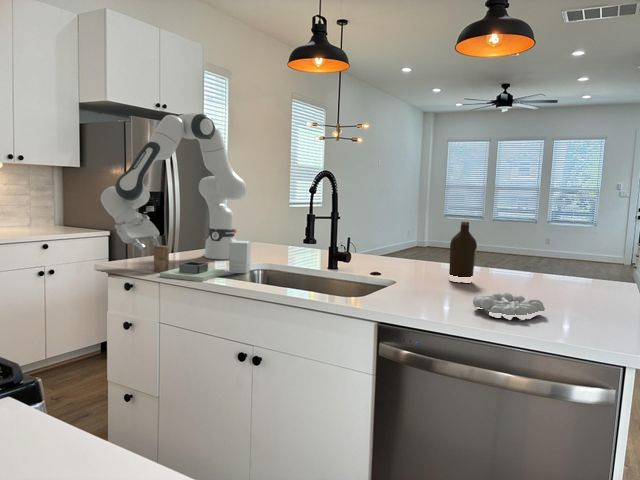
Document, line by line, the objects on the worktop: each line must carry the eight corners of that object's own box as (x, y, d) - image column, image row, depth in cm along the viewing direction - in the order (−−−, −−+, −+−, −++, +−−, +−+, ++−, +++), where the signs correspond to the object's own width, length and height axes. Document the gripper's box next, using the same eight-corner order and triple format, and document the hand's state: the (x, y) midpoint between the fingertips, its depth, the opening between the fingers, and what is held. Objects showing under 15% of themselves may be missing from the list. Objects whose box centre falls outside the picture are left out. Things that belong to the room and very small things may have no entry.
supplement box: (250, 271, 208) (251, 241, 206) (246, 274, 200) (247, 243, 199) (233, 269, 208) (234, 240, 207) (228, 272, 201) (229, 241, 199)
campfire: (475, 302, 169) (477, 285, 169) (542, 311, 161) (544, 293, 161) (468, 318, 149) (470, 299, 148) (544, 329, 141) (546, 309, 140)
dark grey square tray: (189, 268, 197) (189, 261, 197) (208, 270, 195) (209, 263, 194) (177, 272, 189) (178, 264, 189) (197, 274, 187) (198, 266, 186)
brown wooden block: (159, 270, 199) (160, 245, 198) (168, 271, 198) (168, 246, 197) (153, 271, 196) (154, 246, 194) (162, 272, 195) (163, 247, 193)
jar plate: (185, 269, 203) (185, 265, 203) (225, 273, 198) (225, 270, 198) (159, 276, 186) (159, 272, 186) (202, 281, 181) (203, 277, 181)
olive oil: (451, 283, 201) (456, 222, 199) (444, 278, 212) (448, 220, 209) (477, 284, 202) (482, 223, 199) (468, 279, 212) (473, 221, 210)
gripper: (117, 217, 188) (139, 245, 186) (150, 215, 208) (170, 240, 206) (107, 228, 190) (129, 256, 188) (140, 225, 209) (160, 250, 208)
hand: (150, 247), depth 197 cm, fingers open, 8 cm apart
